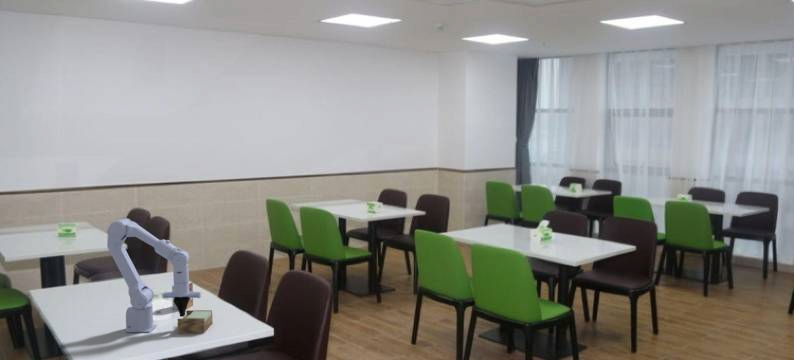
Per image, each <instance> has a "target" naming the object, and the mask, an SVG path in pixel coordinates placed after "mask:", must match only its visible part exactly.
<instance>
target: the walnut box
mask: <svg viewBox="0 0 794 360" xmlns="http://www.w3.org/2000/svg"><path fill="white" fill-rule="evenodd" d="M193 311H211V316H210V317H209V318H208V319H207V320H206V321H205V322H204V319H186V318H187V317H188V316H189V315H190V314H191V313H192V312H193ZM212 325H213V310H212V309H211V310H209V309H208V310H205V309H203V310H202V309H201V310H197V309H196V310H188V309H186V312H185V316H184V317H181V318H177V334H205V333H206V331H207V330H209V328H211V326H212Z"/></svg>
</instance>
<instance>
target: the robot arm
mask: <svg viewBox="0 0 794 360" xmlns="http://www.w3.org/2000/svg"><path fill="white" fill-rule="evenodd" d="M106 232H107V245H106V246H107V249H108V251H109V253H110V255H111V257H112V258H113V260H114V262H115V264H116V266H117V268H118V270H119V271H120V274H121V275H122V278H123V279H124V282H125V283H126V285H127V287H128V296H129V298H130V304H131V306H129V307H128V308H127V309H126V312H125V328H126V329H125V333H150V332H152V331H153V330H155V328H156V327H157V326H158V324H154V311H153V310H154V309H153V304H152V301H153V300H154V297H155V295H154V291H153V289H152V288H150V287H148V285H147V283H146V282H144V281H143V280H142V279H141V276H140V275H139V273H138V271H137V269H136V267H135V265H134V263H133V261H132V260H131V258H130V256H129V254H128V252H127V249H126V248H125V246H124V244H125V241H126V239H127V238H137V239H139V240H141V241H142V242H144V243H145V244H147V245H149V246H152V247H153V248H154V252H155V253H156V254H157V255H160V256H161V257H163V258H164V259H166V260H168V261H169V262H170V263H171V265H172V267H173V271H172V272H173V285H174V292H172V291H169V292H168V291H166V292H165V291H164V292H162V294H161V295H162V299H169V298H170V299H173V298H174V303H175V305H176V306H177V308H178V310H177V311H178V313H179V317H180V318H183V317H185V316H186V311H187V309H188V308H187V305H188V302H189V300H190V298H193V299H195V298H197V299H201V298H202V291H193V292H192V291H189V282H190V274H189V273H190V269H189V261H190V258H191V257H190V253H189V252H188V251H187V250H186V249H181V248H180V247H177V246H175V245H174V244H172V243H171V240H169V239H167V240H166V239H159V238H157V237H156V236H155V235H153V234H152V233H151V232H149V231H147V230H146V229H145V228H143V227H142V226H140V225H139V224H138V223H137V222H135V221H132V220H131V219H130V218H127V217H122V218H120V219H118V220H116V221H114V222H113V221H112V223H110V225H109V226H108V228H107V230H106ZM186 308H187V309H186Z"/></svg>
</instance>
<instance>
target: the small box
mask: <svg viewBox="0 0 794 360" xmlns="http://www.w3.org/2000/svg"><path fill="white" fill-rule="evenodd" d="M193 285H194V283H193V281H189V291H192V292H194V287H193ZM171 290H172V291H171V292H174V284H173V285H171ZM193 306H194V298H190V300H189V302H188V305H187V308H186V310H188V308H190V307H193ZM172 310H177V311H178V308H177V306H176V305H175V303H174V298H172Z"/></svg>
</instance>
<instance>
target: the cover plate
mask: <svg viewBox="0 0 794 360" xmlns="http://www.w3.org/2000/svg"><path fill="white" fill-rule="evenodd" d="M210 316H211V311H193V312H192V313H191V314H190V315H189V316H188V317H187V318H186V319H204V322H205V321H206V320H207V319H208V318H209V317H210Z"/></svg>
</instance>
